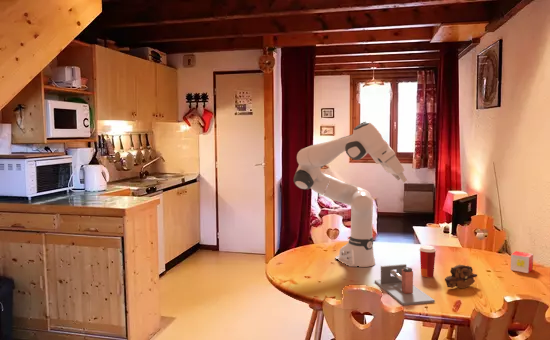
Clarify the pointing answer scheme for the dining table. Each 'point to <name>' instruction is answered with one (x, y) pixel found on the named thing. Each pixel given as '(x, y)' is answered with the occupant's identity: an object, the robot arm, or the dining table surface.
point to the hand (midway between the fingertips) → (402, 180)
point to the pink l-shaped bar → (405, 279)
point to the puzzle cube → (521, 262)
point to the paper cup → (427, 260)
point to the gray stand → (400, 287)
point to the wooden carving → (460, 277)
